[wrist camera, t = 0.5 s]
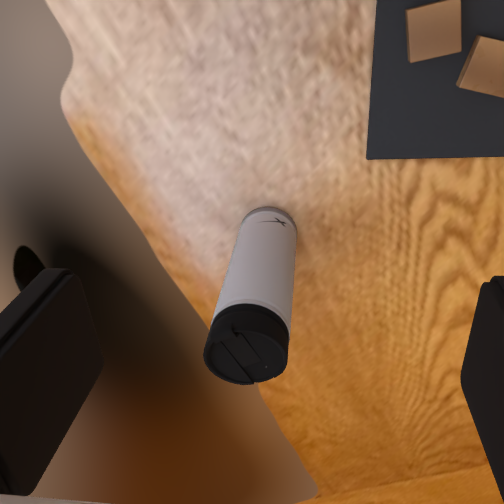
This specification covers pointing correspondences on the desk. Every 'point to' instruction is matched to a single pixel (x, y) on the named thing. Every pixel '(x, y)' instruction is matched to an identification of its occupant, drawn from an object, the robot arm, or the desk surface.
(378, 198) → the desk surface
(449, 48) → the cork chip
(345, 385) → the desk surface
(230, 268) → the travel mug
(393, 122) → the desk mat
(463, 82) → the cork chip
